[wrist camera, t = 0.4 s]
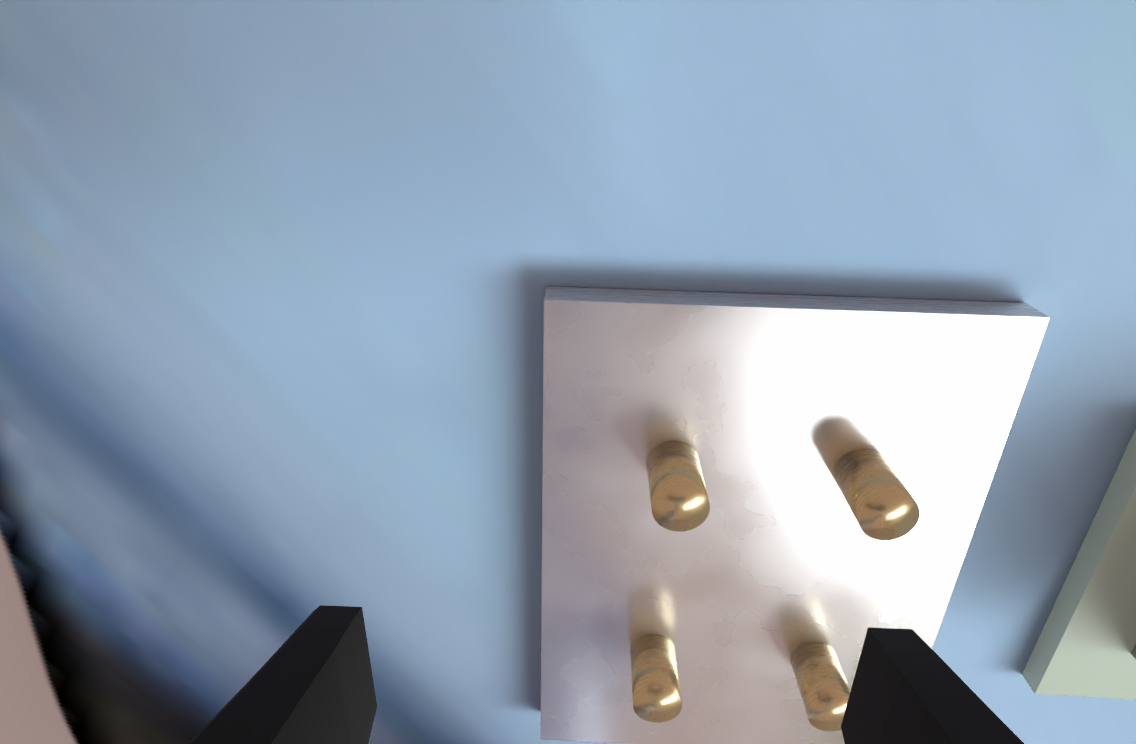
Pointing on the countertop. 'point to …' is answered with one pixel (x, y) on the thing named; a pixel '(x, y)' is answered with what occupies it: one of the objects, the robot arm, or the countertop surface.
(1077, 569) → the grey block on base
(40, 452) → the countertop surface
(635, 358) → the plate
